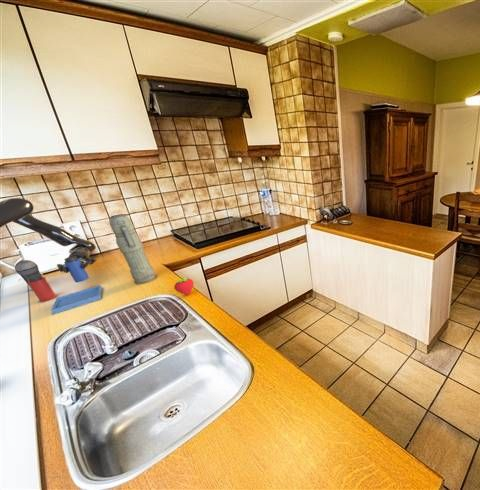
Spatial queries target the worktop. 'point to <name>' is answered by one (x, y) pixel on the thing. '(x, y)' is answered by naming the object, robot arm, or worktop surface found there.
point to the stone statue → (131, 249)
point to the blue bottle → (76, 269)
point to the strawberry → (184, 286)
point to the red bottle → (41, 288)
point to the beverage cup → (26, 269)
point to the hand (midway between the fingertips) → (74, 268)
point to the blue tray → (77, 299)
